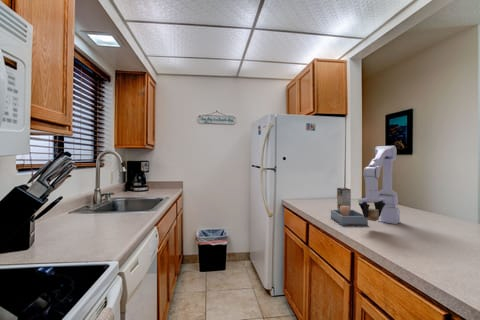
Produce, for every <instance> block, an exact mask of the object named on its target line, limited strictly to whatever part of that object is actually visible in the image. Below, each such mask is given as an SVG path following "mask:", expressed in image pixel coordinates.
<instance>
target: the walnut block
mask: <svg viewBox="0 0 480 320" xmlns="http://www.w3.org/2000/svg"><path fill="white" fill-rule="evenodd" d="M365 220H368V221H372V222H378V220H380V217H379V210H377V209H375V208H370V207H369V210H368V218H366V217H365Z"/></svg>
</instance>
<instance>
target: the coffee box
mask: <svg viewBox="0 0 480 320" xmlns="http://www.w3.org/2000/svg"><path fill="white" fill-rule="evenodd" d="M351 190H352V189H351V188H348V187H337V188H336V195H337V197H336V199H337V201H336V203H337V204H336V205H337V207H336V210H340V206H349V210H352V204H351V203H352V200H351V198H352V196H351V195H352V194H351V193H352V191H351Z"/></svg>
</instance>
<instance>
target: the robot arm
mask: <svg viewBox="0 0 480 320" xmlns="http://www.w3.org/2000/svg"><path fill="white" fill-rule="evenodd" d="M397 153H398V152H397V147H396V145H384V146H383V145H380V146H378V145H377V146H375V149H374V155H375V157H374V158H372V159H370V162H369V164H368V165H367V166H365V167H364V168H363V173H362V175H363V178H364V179H363V180H364V181H363V182H365V197H363V198H358V199H357V200H358V201H357V202H358V203H357V204H358V205H359V207H360V209H361V211H362V214H363V215H364V217H366V218H368V210H369V208H370V203H373V204H374V207H375V208H374V209H377V210H379V220H377V222H381V223H388V224H393V225H398V223H400V222H401V214H400V213H401V210H400V207H397V206H398V205H399V197H398V193H397V192H396V191H395V190H393V164H394V161H397ZM381 169H382V189H380V190H379V178H380V175H381ZM368 203H369V204H368Z"/></svg>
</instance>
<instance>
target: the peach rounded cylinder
mask: <svg viewBox="0 0 480 320" xmlns="http://www.w3.org/2000/svg"><path fill="white" fill-rule="evenodd" d="M340 215H342V216H349V206H340Z"/></svg>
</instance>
